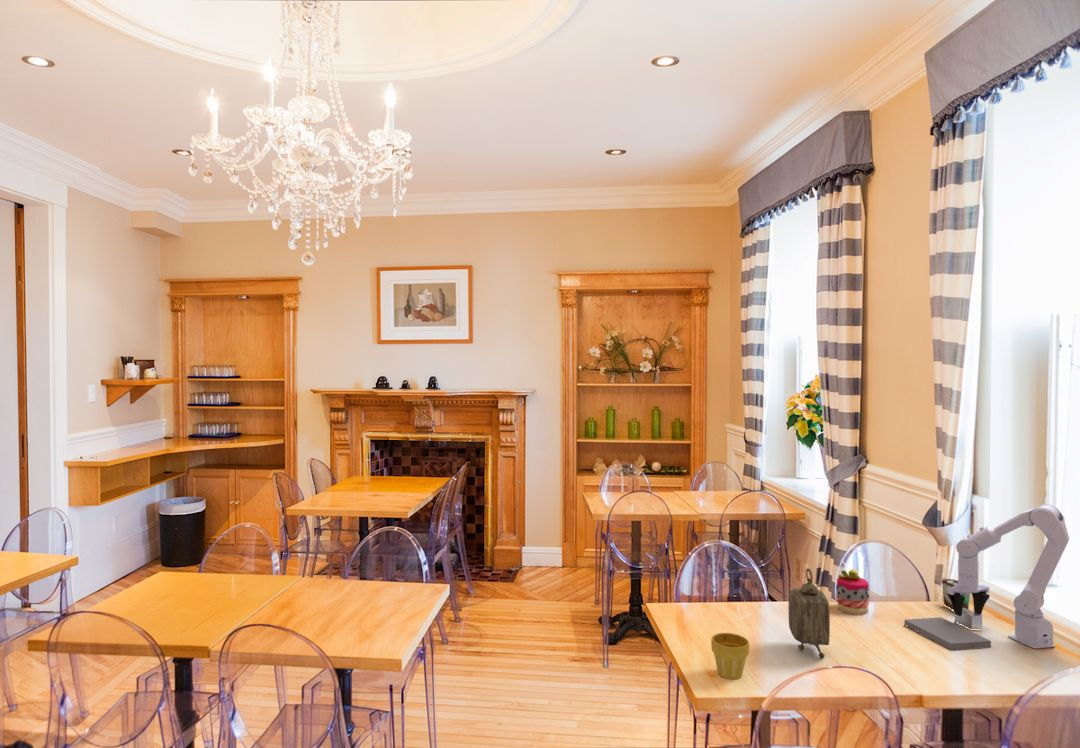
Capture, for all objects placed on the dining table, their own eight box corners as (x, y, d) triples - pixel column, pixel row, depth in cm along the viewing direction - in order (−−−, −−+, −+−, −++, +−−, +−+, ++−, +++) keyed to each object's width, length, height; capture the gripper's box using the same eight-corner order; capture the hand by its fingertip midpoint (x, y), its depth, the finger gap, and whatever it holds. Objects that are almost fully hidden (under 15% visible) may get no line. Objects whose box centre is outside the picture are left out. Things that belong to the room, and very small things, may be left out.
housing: (982, 630, 214) (982, 615, 214) (971, 631, 214) (971, 616, 214) (963, 621, 222) (963, 607, 222) (952, 622, 221) (952, 607, 221)
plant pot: (755, 682, 177) (755, 646, 177) (718, 683, 176) (718, 647, 176) (740, 665, 187) (740, 631, 187) (706, 666, 186) (706, 632, 186)
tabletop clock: (829, 661, 190) (829, 577, 190) (797, 659, 191) (797, 575, 192) (817, 642, 204) (817, 563, 204) (787, 639, 206) (787, 561, 206)
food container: (980, 617, 225) (980, 589, 226) (962, 617, 226) (962, 588, 226) (958, 605, 238) (958, 578, 238) (941, 605, 238) (941, 577, 238)
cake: (836, 603, 239) (837, 563, 239) (868, 607, 235) (868, 566, 235) (836, 612, 230) (836, 570, 230) (869, 617, 225) (869, 574, 225)
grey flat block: (990, 647, 200) (990, 640, 200) (951, 650, 198) (951, 643, 198) (940, 623, 220) (940, 617, 220) (904, 625, 218) (904, 619, 218)
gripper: (976, 569, 223) (976, 608, 223) (940, 571, 220) (939, 611, 220) (994, 576, 216) (994, 616, 216) (956, 578, 213) (956, 618, 213)
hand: (968, 614), depth 217 cm, fingers open, 7 cm apart
